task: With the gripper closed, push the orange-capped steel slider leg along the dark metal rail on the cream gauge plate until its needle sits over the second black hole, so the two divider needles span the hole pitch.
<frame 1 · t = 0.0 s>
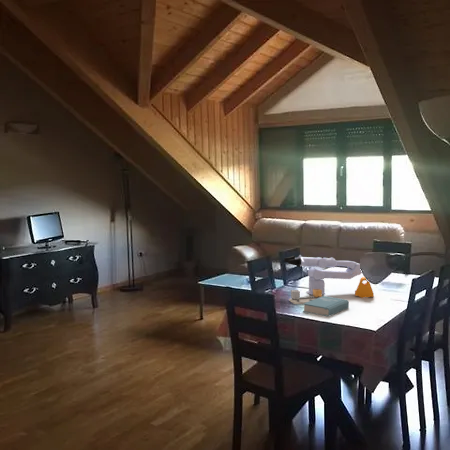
hand: (286, 260, 342), 22 cm above the table, tool horizontal, fingers open, 7 cm apart
slider leg: (318, 294, 330), point 4 cm above the table, slide at 0.0 cm
pitch plate: (309, 301, 329), on the table
bracket: (364, 296, 341), on the table
book: (326, 310, 310), on the table
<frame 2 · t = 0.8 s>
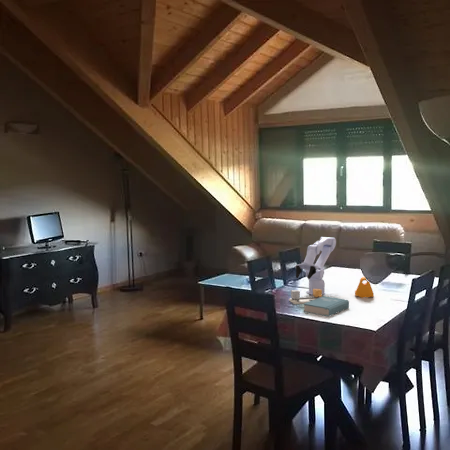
hand: (302, 277, 330), 14 cm above the table, tool tilted 50°, fingers open, 7 cm apart
nothing on the table moved.
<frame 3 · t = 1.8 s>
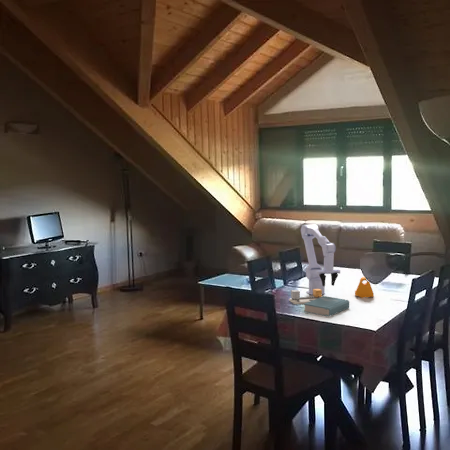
hand: (328, 285, 333), 8 cm above the table, tool pointing down, fingers open, 5 cm apart
nothing on the table moved.
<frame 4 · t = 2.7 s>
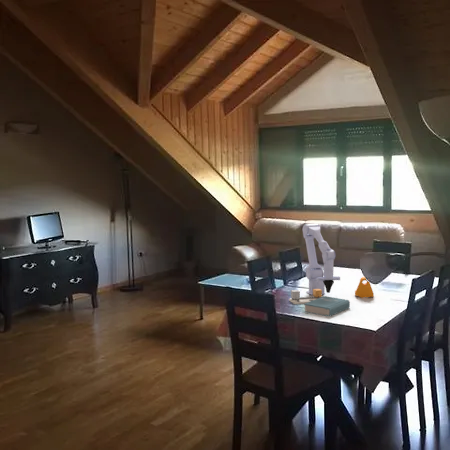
hand: (328, 292, 333), 4 cm above the table, tool pointing down, fingers closed
nothing on the table moved.
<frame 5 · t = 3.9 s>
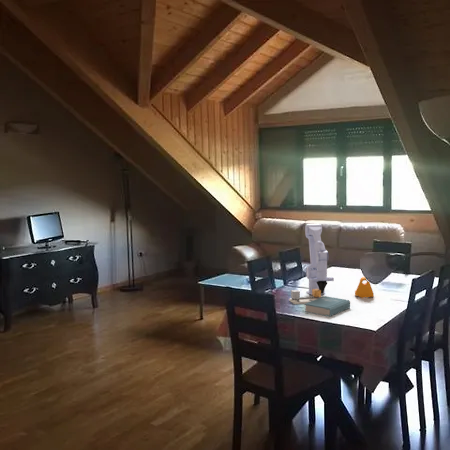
hand: (321, 293, 332), 4 cm above the table, tool pointing down, fingers closed
slider leg: (317, 294, 330), point 4 cm above the table, slide at 0.5 cm, touching gripper
everything else where it was.
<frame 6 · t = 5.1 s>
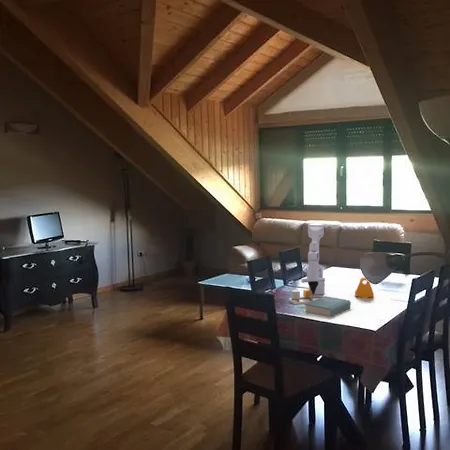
hand: (312, 293, 331), 4 cm above the table, tool pointing down, fingers closed
slider leg: (308, 294, 329), point 4 cm above the table, slide at 6.2 cm, touching gripper
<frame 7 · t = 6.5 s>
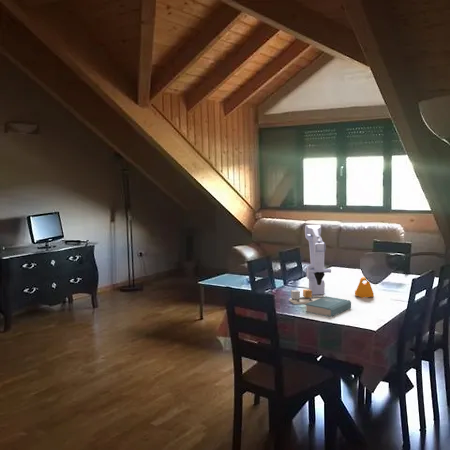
hand: (318, 284, 333), 9 cm above the table, tool pointing down, fingers closed
slider leg: (308, 294, 328), point 4 cm above the table, slide at 6.3 cm
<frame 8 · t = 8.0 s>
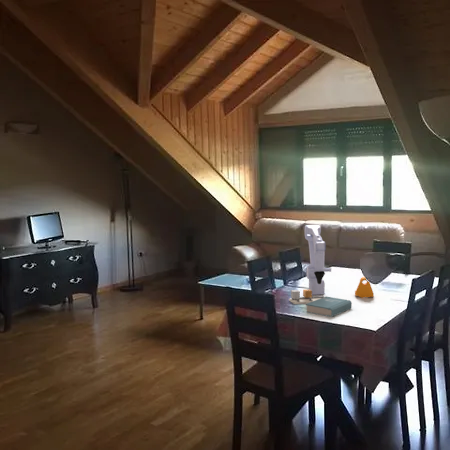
hand: (319, 283, 333), 9 cm above the table, tool pointing down, fingers closed
at the end: slider leg slide at 6.3 cm; the gripper is holding nothing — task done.
